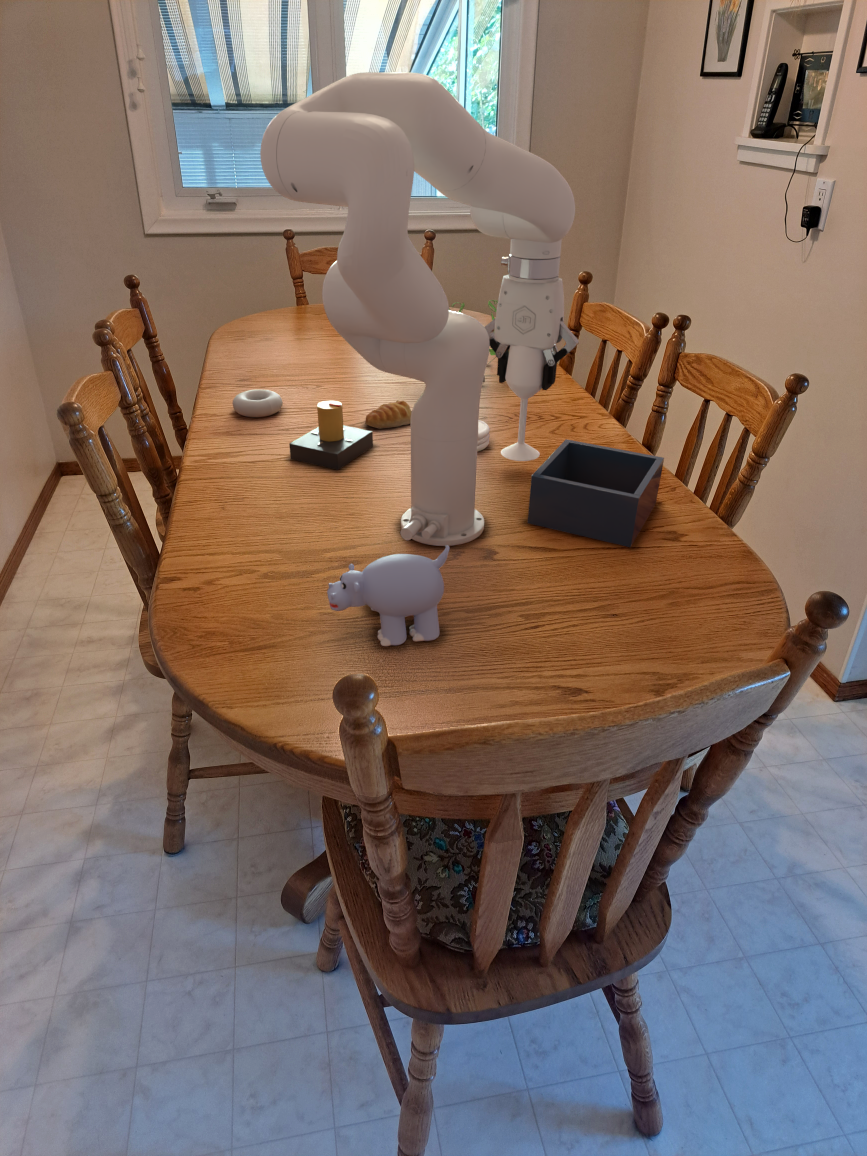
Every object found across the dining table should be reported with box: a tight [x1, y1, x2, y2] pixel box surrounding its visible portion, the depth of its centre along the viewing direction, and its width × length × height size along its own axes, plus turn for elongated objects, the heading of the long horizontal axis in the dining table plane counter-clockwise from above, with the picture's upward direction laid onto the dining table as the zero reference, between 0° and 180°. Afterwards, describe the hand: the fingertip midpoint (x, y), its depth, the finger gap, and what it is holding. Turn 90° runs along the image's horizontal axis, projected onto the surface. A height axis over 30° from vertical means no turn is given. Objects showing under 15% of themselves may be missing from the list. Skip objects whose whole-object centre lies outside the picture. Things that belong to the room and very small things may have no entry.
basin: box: [527, 439, 665, 548], centre depth 120 cm, size 16×16×8 cm
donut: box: [232, 388, 283, 418], centre depth 158 cm, size 10×4×10 cm
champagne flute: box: [500, 345, 547, 462], centre depth 126 cm, size 7×7×24 cm
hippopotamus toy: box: [326, 545, 451, 647], centre depth 94 cm, size 11×15×10 cm
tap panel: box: [288, 424, 374, 471], centre depth 140 cm, size 12×10×3 cm
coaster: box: [477, 419, 491, 452], centre depth 144 cm, size 10×10×4 cm
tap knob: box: [316, 400, 344, 442], centre depth 138 cm, size 4×4×6 cm
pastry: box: [364, 400, 412, 430], centre depth 153 cm, size 9×7×4 cm
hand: (525, 383), depth 126 cm, fingers closed on champagne flute, 6 cm apart
